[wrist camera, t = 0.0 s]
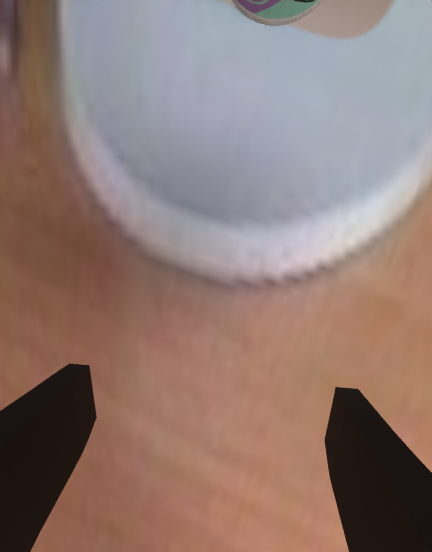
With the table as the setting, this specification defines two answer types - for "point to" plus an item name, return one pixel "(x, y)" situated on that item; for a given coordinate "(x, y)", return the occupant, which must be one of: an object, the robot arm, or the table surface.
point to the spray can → (276, 10)
